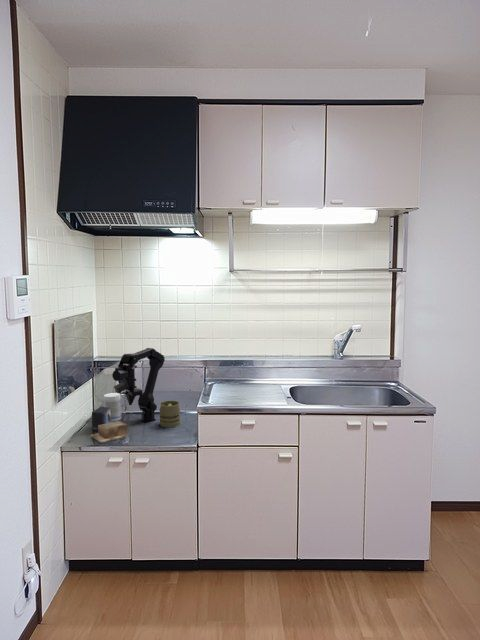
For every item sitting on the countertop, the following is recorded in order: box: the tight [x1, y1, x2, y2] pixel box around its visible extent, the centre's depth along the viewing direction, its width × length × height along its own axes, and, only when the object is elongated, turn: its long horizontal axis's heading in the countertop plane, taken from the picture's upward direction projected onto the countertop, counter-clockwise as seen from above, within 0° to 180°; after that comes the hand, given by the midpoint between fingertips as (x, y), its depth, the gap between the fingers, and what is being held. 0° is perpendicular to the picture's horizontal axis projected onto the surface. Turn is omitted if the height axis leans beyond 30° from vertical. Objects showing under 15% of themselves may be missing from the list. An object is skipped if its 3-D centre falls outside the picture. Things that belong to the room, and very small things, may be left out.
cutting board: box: [90, 432, 127, 444], centre depth 247 cm, size 14×13×1 cm
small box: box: [91, 406, 112, 432], centre depth 260 cm, size 11×6×10 cm, turn 168°
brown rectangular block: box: [97, 420, 128, 439], centre depth 248 cm, size 5×9×12 cm
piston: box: [159, 400, 181, 428], centre depth 266 cm, size 11×12×11 cm
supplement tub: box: [103, 392, 122, 422], centre depth 275 cm, size 10×10×15 cm
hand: (130, 405), depth 259 cm, fingers closed
